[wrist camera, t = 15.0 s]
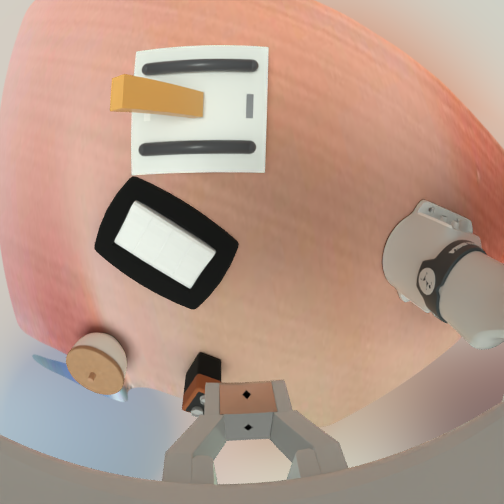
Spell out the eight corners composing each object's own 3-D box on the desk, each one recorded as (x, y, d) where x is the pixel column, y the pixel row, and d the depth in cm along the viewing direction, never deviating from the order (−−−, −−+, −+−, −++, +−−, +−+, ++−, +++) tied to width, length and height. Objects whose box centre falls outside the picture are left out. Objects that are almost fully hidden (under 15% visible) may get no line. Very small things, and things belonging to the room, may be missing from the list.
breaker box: (263, 58, 32) (270, 42, 26) (259, 169, 37) (266, 173, 31) (146, 62, 30) (132, 47, 24) (142, 171, 36) (127, 176, 30)
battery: (185, 374, 49) (180, 414, 39) (199, 350, 47) (196, 392, 38) (206, 381, 50) (205, 422, 41) (222, 359, 48) (222, 401, 39)
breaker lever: (203, 92, 28) (124, 74, 18) (202, 117, 29) (122, 108, 19) (191, 93, 29) (112, 78, 18) (191, 118, 30) (110, 111, 19)
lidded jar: (122, 375, 48) (110, 409, 39) (76, 348, 45) (58, 379, 36) (141, 342, 46) (129, 379, 37) (90, 311, 43) (68, 343, 34)
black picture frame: (249, 244, 39) (196, 321, 42) (246, 239, 42) (197, 312, 44) (127, 167, 34) (83, 252, 36) (133, 167, 37) (91, 247, 39)
